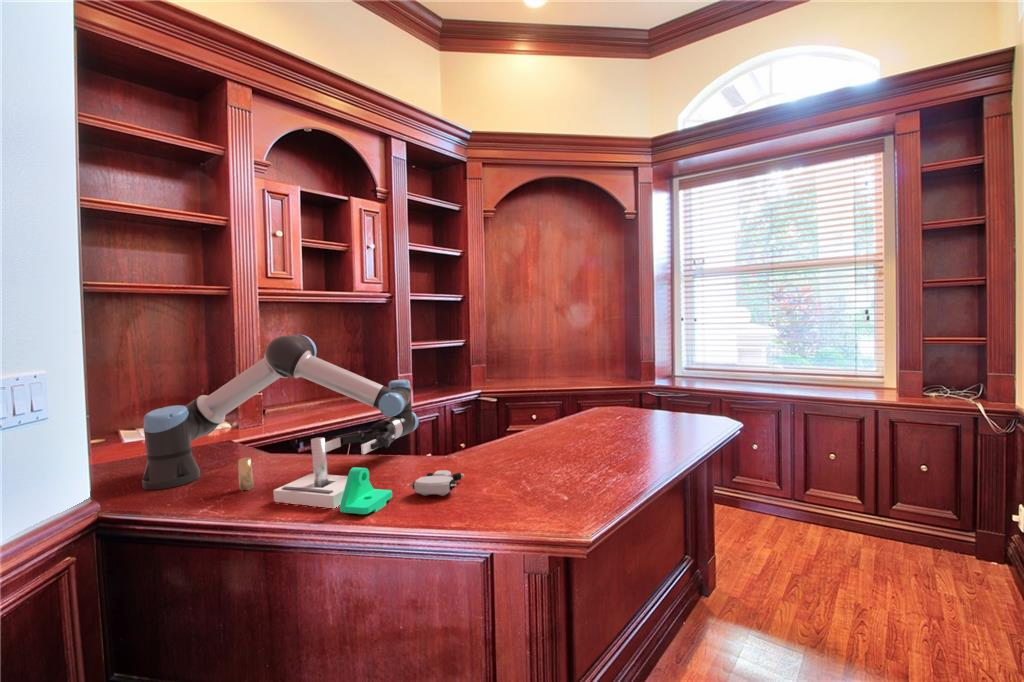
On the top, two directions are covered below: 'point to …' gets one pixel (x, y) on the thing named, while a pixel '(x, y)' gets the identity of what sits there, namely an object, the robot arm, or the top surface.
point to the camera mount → (362, 494)
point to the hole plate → (312, 492)
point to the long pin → (319, 462)
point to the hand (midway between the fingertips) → (343, 448)
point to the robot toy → (436, 483)
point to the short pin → (245, 473)
